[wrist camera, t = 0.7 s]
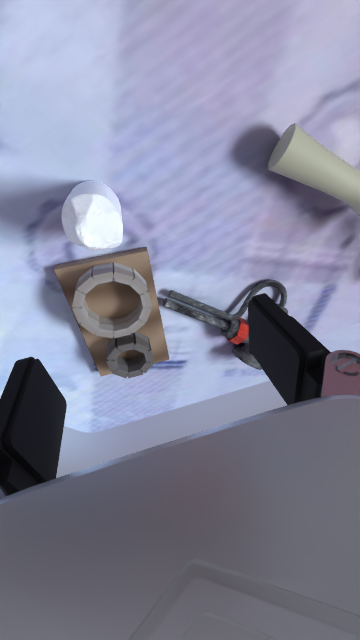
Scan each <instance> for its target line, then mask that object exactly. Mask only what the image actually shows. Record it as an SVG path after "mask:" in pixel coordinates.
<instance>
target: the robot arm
mask: <svg viewBox="0 0 360 640" xmlns="http://www.w3.org/2000/svg"><path fill="white" fill-rule="evenodd" d="M248 326H249V348H250V351H251V353H252V354H253V356H254V357H255V359H256V360H257V362H258V363H259V365H260V366H261V367H262V369H263V370H264V372H265V373H266V375H267V376H268V378H269V379H270V380H271V382H272V383H273V385H274V386H275V388H276V389H277V390H278V392H279V393H280V395H281V396H282V398H283V399H284V401H285V402H286V403H287V406H284V407H281V408H277V409H274V410H270V411H267V412H264V413H260V414H257V415H254V416H250V417H248V418H244V419H241V420H238V421H234V422H231V423H228V424H225V425H222V426H218V427H215V428H212V429H209V430H205V431H202V432H199V433H196V434H193V435H190V436H186V437H183V438H180V439H177V440H174V441H170V442H168V443H164V444H161V445H158V446H155V447H152V448H148V449H145V450H142V451H139V452H136V453H133V454H130V455H126V456H123V457H121V458H117V459H114V460H111V461H108V462H105V463H102V464H99V465H96V466H92V467H89V468H86V469H83V470H80V471H77V472H74V473H71V474H68V475H65V476H62V477H59V478H56V473H57V467H58V460H59V453H60V447H61V440H62V434H63V427H64V420H65V413H66V400H65V398H64V397H63V395H62V394H61V392H60V391H59V389H58V388H57V386H56V384H55V383H54V381H53V380H52V378H51V377H50V375H49V374H48V372H47V371H46V369H45V368H44V366H43V365H42V363H41V362H40V360H39V359H34V358H33V357H28V358H25V359H21V360H18V361H16V362H15V364H14V367H13V369H12V372H11V374H10V376H9V379H8V381H7V384H6V386H5V389H4V391H3V393H2V396H1V398H0V640H360V354H358V353H356V352H353V351H349V350H337V351H334V352H330V351H329V350H328V349H327V348H325V347H324V346H323V345H322V344H321V343H320V342H319V341H318V340H317V339H316V338H315V337H314V336H313V335H312V334H310V333H309V332H308V331H307V330H306V329H305V328H304V327H303V326H302V325H301V324H300V323H299V322H298V321H297V320H295V319H294V318H293V317H292V316H289V315H288V314H287V313H286V312H285V311H284V310H282V309H281V308H280V307H279V306H278V305H277V304H276V303H275V302H274V301H273V300H272V299H271V298H270V297H269V296H268V295H267V294H265V293H263V294H260V295H256V296H253V297H252V298H251V300H250V301H249V302H248Z"/></svg>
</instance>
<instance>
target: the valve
mask: <svg viewBox="0 0 360 640" xmlns="http://www.w3.org/2000/svg"><path fill="white" fill-rule="evenodd" d="M267 286H274V287H276V288H278V290H279V291H280V293H281V300H280V303H279V304H277V305H278V306H279V307H280V308H281V309H282V310H284V311H285V312H286V313H288V310H287V309H286V308H284V306H285V304H286V300H287V292H286V289H285V287H284V286H283V285H282V284H281V283H280V282H278V281H275V280H266V281H263V282H261V283H259V284H258V285H256V286H255V287H254V288H253V289H252V290H251V292H250V293H249V295H248V296H247V298H246V300H245V301H244V303H243V305H242V306H241V308H240V310H239V311H238V312H237V313H236V314H234V315H231V314H228V313H225V312H223V311H221V310H218V309H216V308H213V307H211V306H209V305H206V304H204V303H201V302H199V301H196V300H194V299H192V298H189V297H187V296H184V295H182V294H180V293H177V292H175V291H172V290H171V291H170V292H169V296H170V297H172V298H175V299H177V300H180V301H182V302H185V303H187V304H190V305H192V306H194V307H197V308H199V309H202V310H204V311H207V312H209V313H212V314H214V315H217V316H219V317H222V318H224V319H225V320H224V321H222V320H219V319H217V318H214V317H212V316H209V315H207V314H204V313H202V312H199V311H197V310H194V309H192V308H189V307H187V306H184V305H182V304H179V303H177V302H174V301H172V300H169V299H167V298H166V299H165V300H164V302H163V306H164V307H167V308H170V309H172V310H175V311H177V312H180V313H183V314H185V315H188V316H190V317H193V318H196V319H198V320H201V321H203V322H206V323H209V324H211V325H214V326H216V327H219V328H221V333H222V334H223V335H224V336H225V337H226V338H227V340H228V341H229V342H232V343H235V344H239V343H241V342H243V343H245V345H244V346H234V348H233V349H232V351H233V353H234V354H235V355H236V357H238V358H239V359H240V360H241V361H242V362H244V363H246V364H247V365H249V366H251V367H253V368H256V369H259V370H261V369H262V367H261V366H260V365H259V363H258V362H257V360H256V359H255V357H254V356H253V354H252V353H251V351H250V348H249V326H248V323H247V322H246V321H245V320H244V319H242V318H240V317H241V316H242V315H243V314H244V312H245V311H246V309H247V307H248V302H249V301H250V300H251V298H252V297H253V296H255V295H256V293H257V292H258V291H259V290H261V289H262V288H264V287H267Z"/></svg>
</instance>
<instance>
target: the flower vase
mask: <svg viewBox="0 0 360 640" xmlns="http://www.w3.org/2000/svg"><path fill="white" fill-rule="evenodd" d="M268 170H270V171H273V172H275V173H278V174H280V175H283V176H285V177H288V178H290V179H293V180H295V181H297V182H300V183H302V184H305V185H307V186H310V187H312V188H315V189H317V190H319V191H322V192H324V193H326V194H328V195H330V196H332V197H334V198H336V199H338V200H340V201H342V202H344V203H345V204H347V205H348V206H349V207H350V208H352V209H353V210H354V211H355V212H356V213H357V214H358V215H359V216H360V171H359V170H357V169H356V168H354V167H353V166H351V165H350V164H348V163H347V162H346V161H344V160H343V159H341V158H340V157H338V156H337V155H335V154H334V153H332V152H331V151H329V150H328V149H327V148H325V147H324V146H323V145H321V144H320V143H319V142H318V141H316V140H315V139H314V138H313V137H311V136H310V135H309V134H308V133H306V132H305V131H304V130H303V129H301V128H300V127H299V126H298V125H296V124H295V123H294V124H292V125H290V126H289V127H288V129H287V130H286V131H285V132H284V133H283V135H282V136H281V138H280V139H279V141H278V143H277V144H276V146H275V148H274V150H273V152H272V154H271V157H270V160H269V163H268Z"/></svg>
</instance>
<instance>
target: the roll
mask: <svg viewBox="0 0 360 640" xmlns="http://www.w3.org/2000/svg"><path fill="white" fill-rule="evenodd" d="M62 224H63V228H64V231H65V233H66V235H67V237H68V239H69V240H70V241H71V242H72V243H74V244H77V245H79V246H81V247H84V248H86V249H89V250H101V249H110V248H114V247H118V246H119V245H120V244H121V242H122V233H123V223H122V217H121V207H120V203H119V200H118V198H117V196H116V195H115V194H114V192H113V191H112V190H111V189H110V188H109V187H108V186H106V185H105V184H103V183H101V182H97V181H84V182H81V183H80V184H78V185H76V186H75V187H74V188H73V189H72V191H71V192H70V194H69V195H68V197H67V199H66V200H65V202H64V205H63V209H62Z"/></svg>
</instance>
